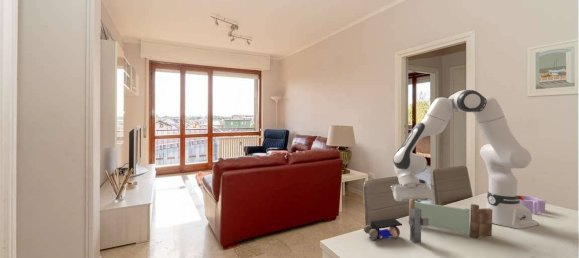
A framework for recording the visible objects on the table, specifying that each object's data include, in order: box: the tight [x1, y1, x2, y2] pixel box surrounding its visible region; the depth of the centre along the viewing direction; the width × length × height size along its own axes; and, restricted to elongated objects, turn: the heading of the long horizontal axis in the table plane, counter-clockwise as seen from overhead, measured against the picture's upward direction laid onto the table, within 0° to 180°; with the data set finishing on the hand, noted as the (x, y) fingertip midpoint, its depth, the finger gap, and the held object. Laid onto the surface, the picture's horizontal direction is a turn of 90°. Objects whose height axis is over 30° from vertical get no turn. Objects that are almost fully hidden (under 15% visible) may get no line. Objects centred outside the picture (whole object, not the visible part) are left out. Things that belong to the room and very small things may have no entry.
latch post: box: [409, 207, 429, 244], centre depth 110 cm, size 6×4×14 cm
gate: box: [408, 199, 471, 235], centre depth 122 cm, size 24×2×12 cm, turn 59°
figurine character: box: [363, 217, 403, 242], centre depth 114 cm, size 7×8×15 cm
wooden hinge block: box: [469, 203, 493, 239], centre depth 115 cm, size 10×3×14 cm, turn 98°
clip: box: [517, 193, 546, 216], centre depth 151 cm, size 20×12×7 cm, turn 17°
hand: (418, 208), depth 132 cm, fingers closed
